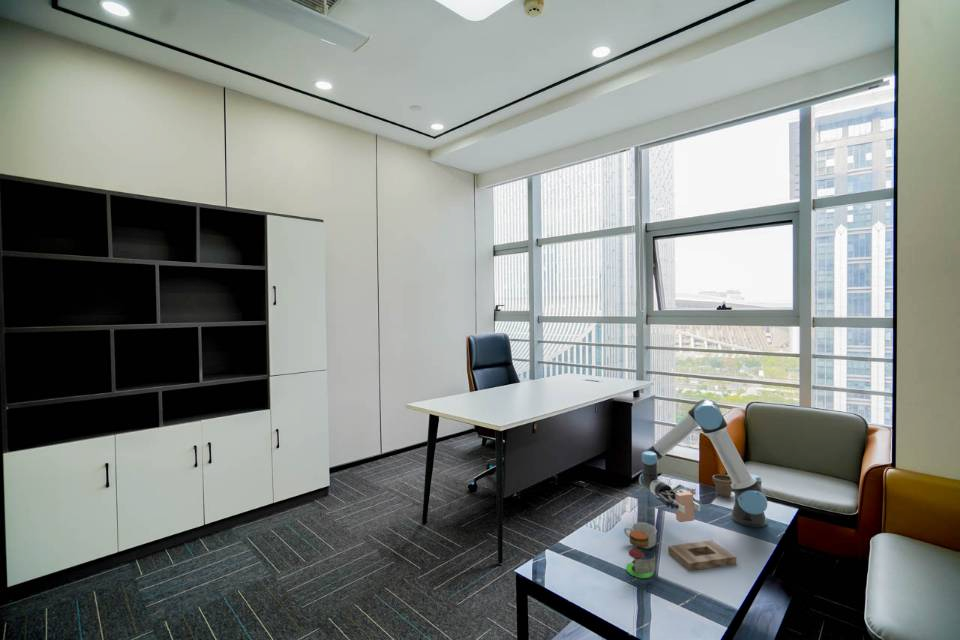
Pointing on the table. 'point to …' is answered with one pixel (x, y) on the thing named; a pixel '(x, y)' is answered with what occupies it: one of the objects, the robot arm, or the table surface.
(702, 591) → the table surface
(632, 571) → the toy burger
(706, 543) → the slotted rack
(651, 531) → the teacup
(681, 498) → the salmon rectangular block
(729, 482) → the flower pot
